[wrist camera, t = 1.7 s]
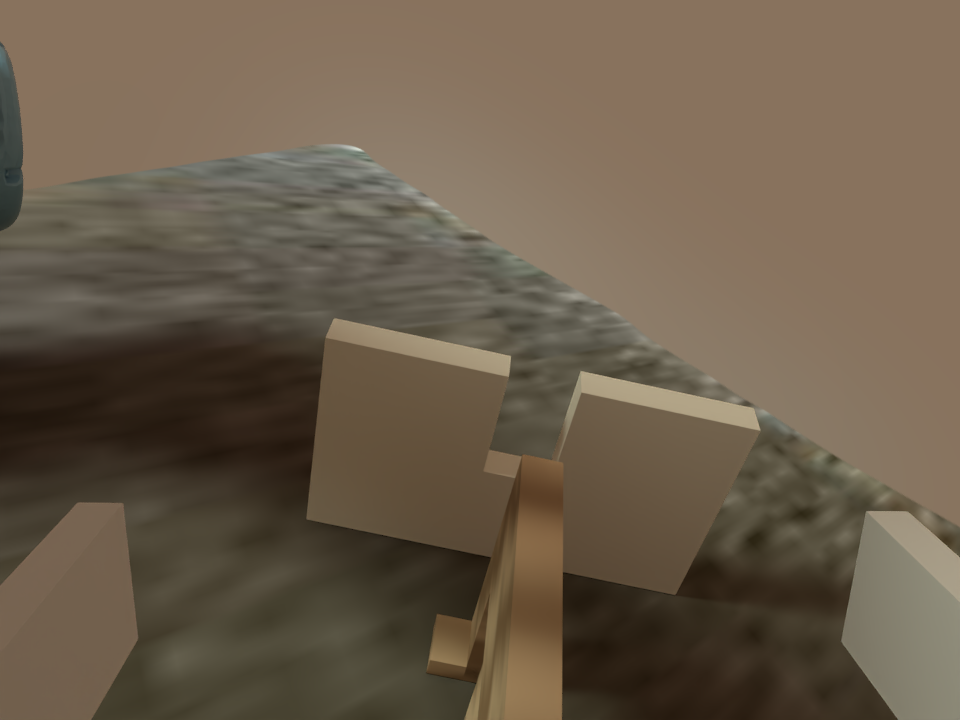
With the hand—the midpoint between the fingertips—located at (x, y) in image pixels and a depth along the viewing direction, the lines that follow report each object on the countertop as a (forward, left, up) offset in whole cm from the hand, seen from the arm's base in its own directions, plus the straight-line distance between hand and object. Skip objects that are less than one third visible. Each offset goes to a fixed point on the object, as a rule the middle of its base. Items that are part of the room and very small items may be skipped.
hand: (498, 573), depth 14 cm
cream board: (-19, +19, -28) cm, 39 cm away
